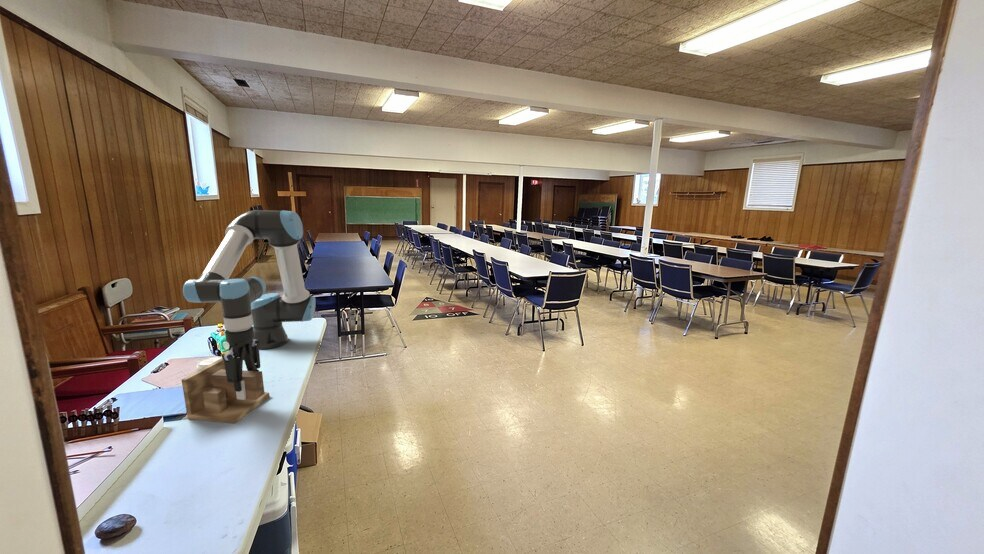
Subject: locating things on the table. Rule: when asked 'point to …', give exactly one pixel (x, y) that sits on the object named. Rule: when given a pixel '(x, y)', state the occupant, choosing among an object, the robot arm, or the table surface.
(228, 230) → the robot arm
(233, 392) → the rail
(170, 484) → the table surface
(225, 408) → the wooden step bracket
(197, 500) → the table surface
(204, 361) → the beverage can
